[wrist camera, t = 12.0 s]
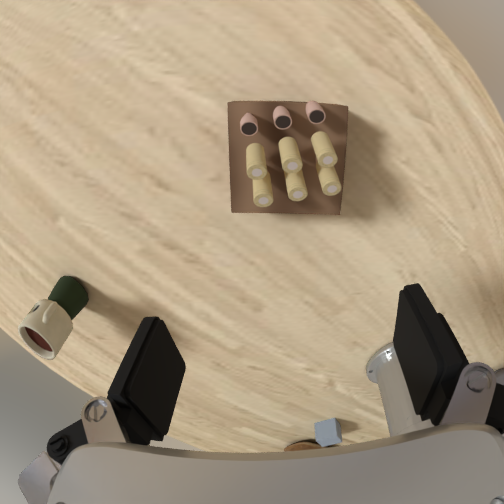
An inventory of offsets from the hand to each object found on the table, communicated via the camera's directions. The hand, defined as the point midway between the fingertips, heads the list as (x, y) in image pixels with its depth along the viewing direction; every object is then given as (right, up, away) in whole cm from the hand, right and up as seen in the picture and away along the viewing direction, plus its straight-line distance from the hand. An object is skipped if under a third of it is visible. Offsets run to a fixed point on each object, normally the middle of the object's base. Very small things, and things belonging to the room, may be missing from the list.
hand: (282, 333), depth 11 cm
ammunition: (+2, +13, +15) cm, 20 cm away
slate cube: (+17, -38, +49) cm, 64 cm away
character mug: (-31, -3, +32) cm, 45 cm away
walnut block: (+2, +14, +20) cm, 25 cm away
